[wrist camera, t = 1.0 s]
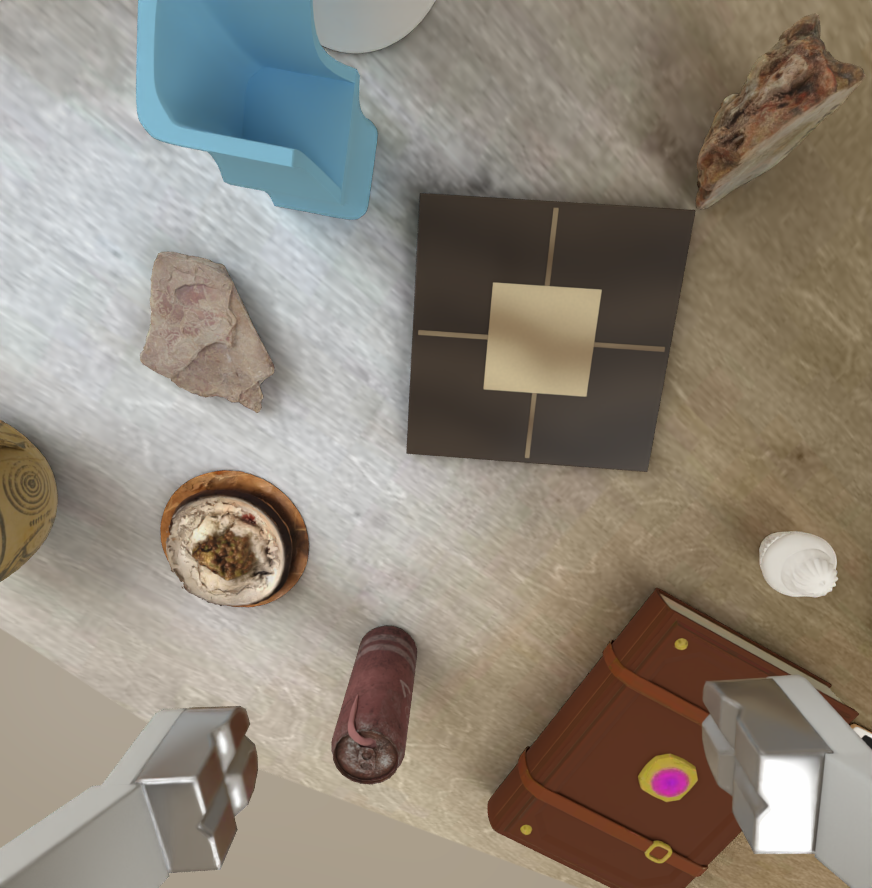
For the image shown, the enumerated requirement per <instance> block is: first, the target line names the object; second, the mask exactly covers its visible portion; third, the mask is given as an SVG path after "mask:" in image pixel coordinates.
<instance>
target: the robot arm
mask: <svg viewBox="0 0 872 888" xmlns="http://www.w3.org/2000/svg"><path fill="white" fill-rule="evenodd" d="M435 1H436V0H313V14H314V22H315V28H316V34H317V36H318V39H319V42H320V44H321V46H323V47H326V48H329V49H331V50H335V51H339V52H345V53H366V52H372V51H376V50H379V49H382V48H385V47H387V46H390V45H392V44H394V43H396V42H397V41H399V40H400V39H402V38H403V37H405V36H406V35H407V34H409V33H410V32H411V31H412V30H413V29H414V28H415V27H416V26H417V25H418V24H419V23H420V22H421V21H422V20H423V18H424V17H425V16H426V15H427V13H428V12H429V10H430V9H431V7H432V6H433V4H434V2H435ZM703 702H704V704H705V706H706V707H707V709H708V711H709V713H710V714H709V715H708V716H707V718H706V719H705V720H704V721H703V722H702V741H703V746H704V751H705V756H706V759H707V762H708V765H709V767H710V770H711V772H712V774H713V776H714V778H715V780H716V782H717V784H718V786H719V787H721V788H722V789H723V790H725V791H726V792H727V793H729V794H730V795H731V796H733V797H732V813H733V815H734V817H735V818H736V820H737V822H738V824H739V826H740V828H741V830H742V831H743V833H744V835H745V837H746V839H747V841H748V843H749V845H750V846H751V848H752V850H753V852H754V854H815V858H817V859H818V860H819V861H820V862H821V863H822V864H824V865H825V866H826V867H827V868H828V869H829V870H831V871H832V872H833V873H834V874H835V875H836V876H838V877H839V878H840V879H841V880H842V881H843V882H845V883H846V884H847V885H848V886H849V887H850V888H872V749H871V748H870V747H869V746H868V745H867V744H866V743H865V742H864V741H863V740H862V739H861V737H860V736H859V735H858V734H857V733H856V732H855V731H854V730H853V729H852V728H851V727H850V726H849V724H848V723H847V722H846V721H845V720H844V719H843V718H842V717H841V716H840V715H839V714H838V713H837V711H836V710H835V709H834V708H833V707H832V706H831V705H830V704H829V703H828V702H827V701H826V700H825V698H824V697H823V696H822V695H821V694H820V693H819V692H818V691H817V690H816V689H815V688H814V686H813V685H812V684H811V683H810V682H809V681H808V680H807V679H806V678H804V677H802V676H800V675H799V674H798V675H785V676H771V677H767V678H751V679H734V680H718V681H706V683H705V685H704V688H703ZM249 725H250V722H249V718H248V715H247V711H246V709H245V708H243V707H241V706H228V707H192V708H176V709H163V710H161V711H159V712H157V713H155V715H154V716H153V717H152V718H151V720H150V721H149V722H148V724H147V725H146V727H145V728H144V729H143V731H142V732H141V733H140V734H139V736H138V737H137V738H136V740H135V741H134V742H133V744H132V745H131V746H130V748H129V749H128V750H127V752H126V753H125V755H124V756H123V757H122V758H121V760H120V761H119V763H118V764H117V765H116V766H115V768H114V769H113V770H112V772H111V773H110V775H109V776H108V777H107V779H106V780H105V781H104V782H103V784H102V785H99V786H92V787H90V788H89V789H87V790H86V791H84V792H83V793H81V794H80V795H78V796H77V797H76V798H74V799H73V800H71V801H69V802H68V803H66V804H65V805H64V806H62V807H61V808H59V809H58V810H56V811H55V812H53V813H52V814H50V815H49V816H47V817H46V818H45V819H43V820H41V821H40V822H38V823H37V824H35V825H34V826H32V827H31V828H29V829H28V830H26V831H25V832H24V833H22V834H21V835H19V836H18V837H16V838H15V839H13V840H12V841H10V842H9V843H7V844H6V845H4V846H3V847H1V848H0V888H159V887H160V886H161V884H162V883H163V882H164V881H165V880H166V879H167V878H168V877H169V873H176V872H190V871H207V870H220V869H221V866H222V864H223V862H224V860H225V857H226V855H227V853H228V850H229V848H230V845H231V843H232V841H233V839H234V836H235V834H236V832H237V826H236V822H235V818H234V817H235V816H236V815H237V814H238V813H239V812H240V811H241V810H242V809H244V808H245V807H246V806H247V805H248V803H249V801H250V798H251V796H252V793H253V791H254V788H255V783H256V777H257V771H258V757H257V751H256V747H255V744H254V743H253V742H252V741H251V740H250V739H249V738H247V737H246V736H245V734H246V732H247V730H248V727H249Z"/></svg>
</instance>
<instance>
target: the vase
mask: <svg viewBox="0 0 872 888" xmlns="http://www.w3.org/2000/svg"><path fill="white" fill-rule="evenodd" d="M359 79H360V75H359V73H358V71H357V69H355V68H352V67H350V66H347V65H345V64H342V63H340V62H338V61H336V60H335V59H334V58H332V57H331V56H329V55H328V54H327V52H326V51H325V50H324V49H323V48H322V46H321V44H320V42H319V39H318V36H317V34H316V28H315V22H314V14H313V0H138V25H137V72H136V102H137V114H138V118H139V121H140V123H141V124H142V126H143V127H144V128H145V130H146V131H147V132H148V133H149V134H150V135H151V136H152V137H153V138H155V139H157V140H159V141H162V142H165V143H169V144H173V145H177V146H182V147H187V148H192V149H197V150H202V151H207V152H208V153H210V154H211V155H212V157H213V158H214V160H215V161H216V163H217V165H218V167H219V169H220V172H221V175H222V178H223V180H224V182H226V183H228V184H230V185H235V186H240V187H245V188H251V189H256V190H262V191H265V192H266V193H268V194H269V196H270V197H271V199H272V201H273V203H274V205H275V206H279V207H284V208H290V209H295V210H300V211H305V212H310V213H315V214H321V215H326V216H331V217H336V218H342V219H350V220H354V219H358V218H360V217H361V216H363V215H364V214H365V213H366V211H367V208H368V203H369V197H370V190H371V182H372V175H373V168H374V160H375V153H376V146H377V138H378V132H377V129H376V127H375V126H374V124H373V123H372V122H371V121H370V120H369V119H367V118H365V116H364V115H363V113H362V111H361V108H360V104H359Z"/></svg>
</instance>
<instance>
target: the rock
mask: <svg viewBox="0 0 872 888" xmlns="http://www.w3.org/2000/svg"><path fill="white" fill-rule="evenodd" d="M865 78H866V75H865V73H864V71H863V69H862V68H861V67H859V66H856V65H853V64H848V63H841V62H839V61H837V60H835V59H834V58H833V57H832V55H831V54H830V52H828V51H826V48H825V45H824V42H823V41H822V40H821V39H820V20H819V15H817V14H812V15H808V16H805V17H804V18H802V19H800V20H799V21H798V22H796V23H795V24H794V25H793V26H792V27H791V28H790V29H788V30H786V31H785V32H783V33H782V35H781V36H780V39H779V42H778V43H777V44H776V45H775V46H774V47H773V48H772V49H771V50H769V51H768V52H767V53H765V54H763V55H762V56H761V57H759V58H758V60H757V61H756V62H755V64H754V66H753V67H752V69H751V71H750V73H749V76H748V77H747V81H746V82H745V83H744V85H743V87H742V89H741V92H740V95H739V94H738V93H736V94H732V95H730V96H728V97H726V98H725V99H724V100H723V102H722V103H721V109H720V110H719V111H718V112H717V113H716V114H715V118H714V121H713V124H712V126H711V128H710V130H709V132H708V134H707V136H706V137H705V141H704V145H703V146H702V148H701V151H700V154H699V157H698V161H697V170H698V176H697V178H698V182H697V185H698V187H699V191H698V193H697V196H696V208H697V209H700V210H701V209H703V208H705V209H707V208H709V207H710V206H711V205H713V204H714V203H716V202H717V201H719V200H720V199H722V198H723V197H725V196H726V195H727V194H729V193H730V192H731V191H732V190H734V189H736V188H738V187H739V186H741V185H743V184H746V183H747V182H749V181H751V180H752V179H754V178H756V177H758V176H760V175H761V174H763V173H764V172H766V171H767V170H769V169H771V168H772V167H774V166H775V165H776V164H778V163H779V162H780V161H781V160H782V159H783V158H785V157H786V156H787V155H788V154H789V153H790V152H791V151H792V150H793V149H794V148H796V147H797V146H798V145H799V144H800V143H801V142H802V141H803V140H804V139H805V138H806V137H807V136H808V135H809V134H810V133H811V132H812V131H813V130H814V129H815V128H816V127H817V126H818V125H819V124H820V123H821V122H822V121H824V120H825V119H826V118H827V117H828V116H830V115H831V114H832V113H833V112H835V111H836V110H837V109H838V108H839V107H840V106H841V104H842V103H844V102H845V101H846V100H847V99H848V96H849V95H850V93H851V92H852V91H853V90H855V89H856V87H857V86H858V85H859V84H860V83H861V82H862V81H863V80H864V79H865Z"/></svg>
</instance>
